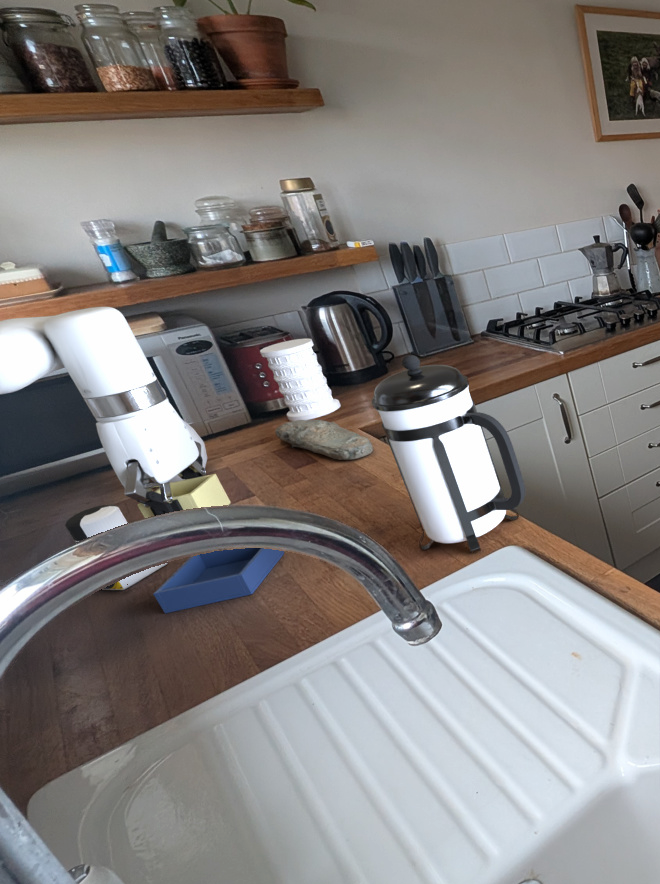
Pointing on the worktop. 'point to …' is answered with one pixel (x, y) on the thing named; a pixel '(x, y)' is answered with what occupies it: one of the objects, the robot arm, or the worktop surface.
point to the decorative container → (300, 379)
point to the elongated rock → (325, 439)
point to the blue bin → (216, 577)
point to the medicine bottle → (99, 522)
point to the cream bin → (194, 494)
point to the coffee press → (446, 453)
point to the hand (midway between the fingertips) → (191, 513)
